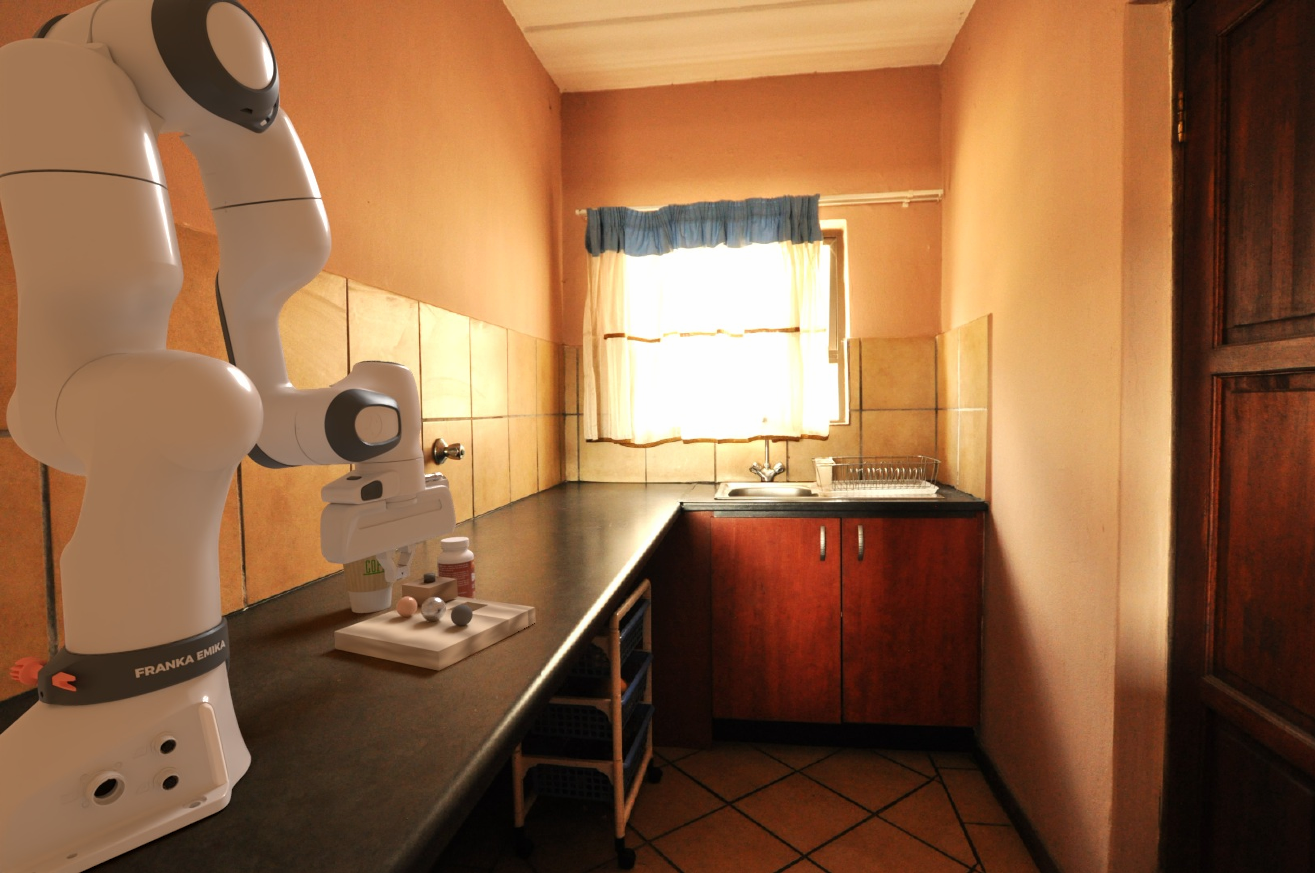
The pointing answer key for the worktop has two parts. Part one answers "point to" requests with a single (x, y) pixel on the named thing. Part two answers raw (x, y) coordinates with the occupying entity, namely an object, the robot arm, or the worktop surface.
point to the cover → (431, 588)
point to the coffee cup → (367, 585)
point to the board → (434, 633)
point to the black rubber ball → (461, 615)
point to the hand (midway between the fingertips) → (398, 579)
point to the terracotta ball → (406, 606)
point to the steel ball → (433, 609)
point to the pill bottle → (458, 565)
